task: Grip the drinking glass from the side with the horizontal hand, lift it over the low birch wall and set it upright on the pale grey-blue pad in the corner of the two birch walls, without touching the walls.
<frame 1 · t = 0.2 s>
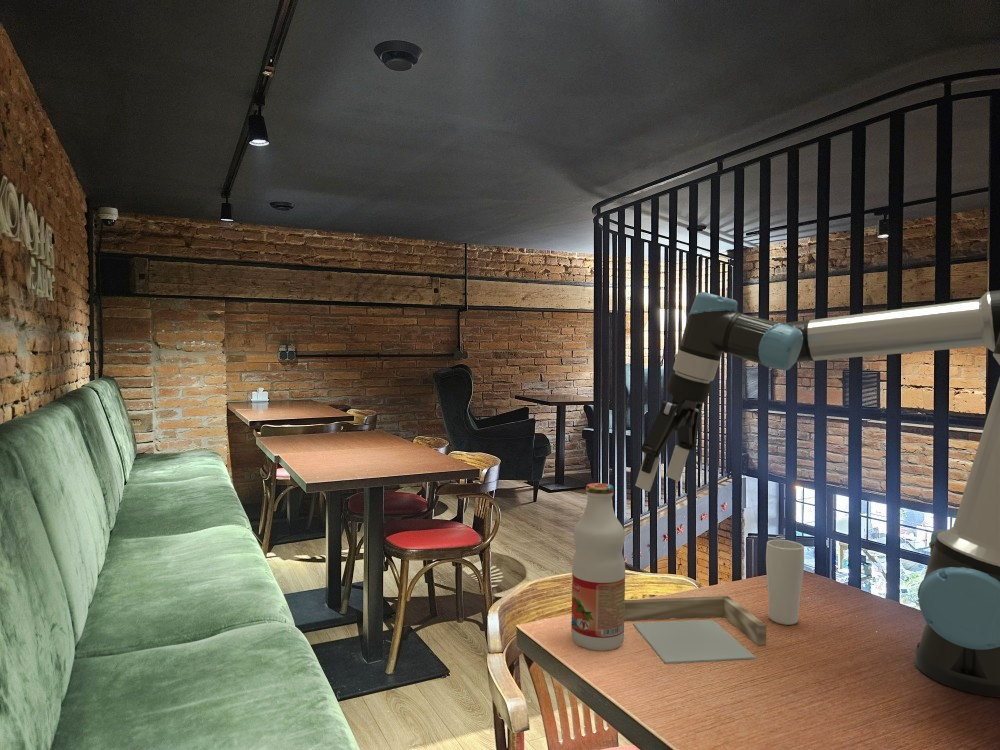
hand: (658, 483, 124), 27 cm above the table, tool tilted 15°, fingers open, 13 cm apart
drinking glass: (783, 621, 128), on the table
birch walls: (690, 640, 118), on the table
fruit juice: (597, 641, 118), on the table
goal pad: (690, 640, 118), on the table
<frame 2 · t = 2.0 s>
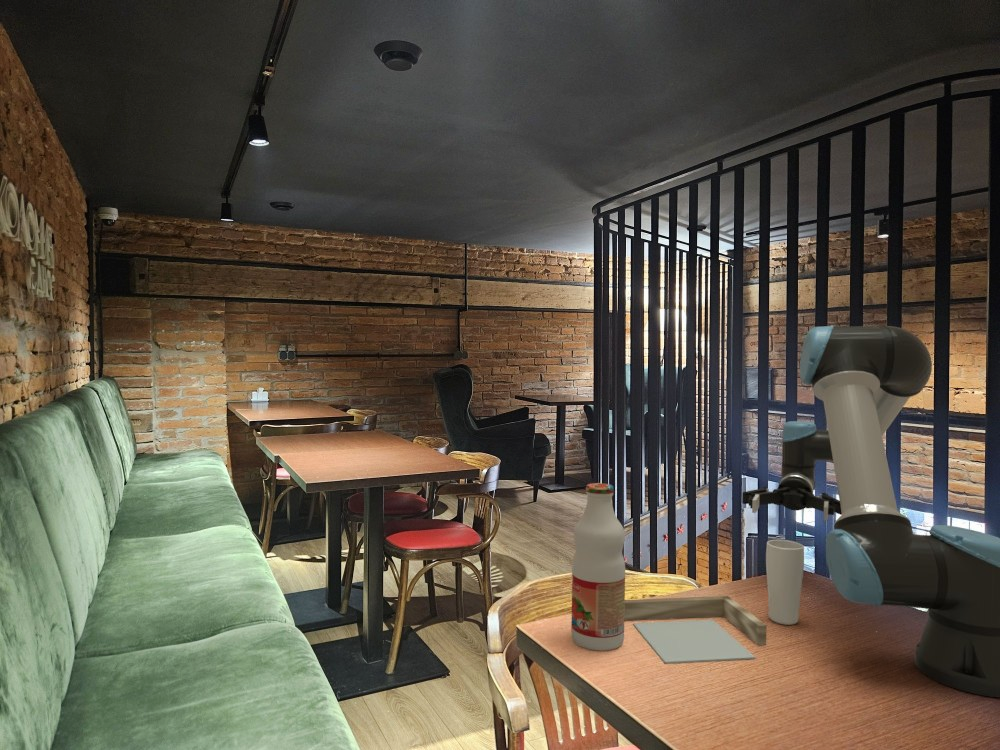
hand: (789, 510, 136), 20 cm above the table, tool horizontal, fingers open, 13 cm apart
nothing on the table moved.
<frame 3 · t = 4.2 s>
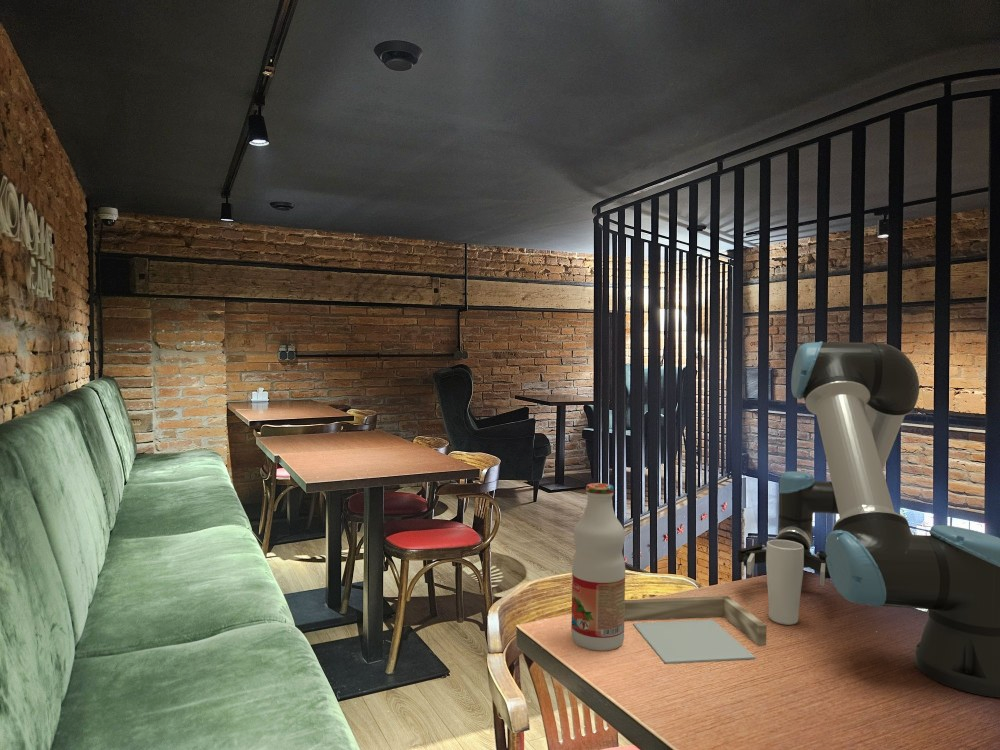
hand: (784, 573, 132), 8 cm above the table, tool horizontal, fingers open, 13 cm apart
nothing on the table moved.
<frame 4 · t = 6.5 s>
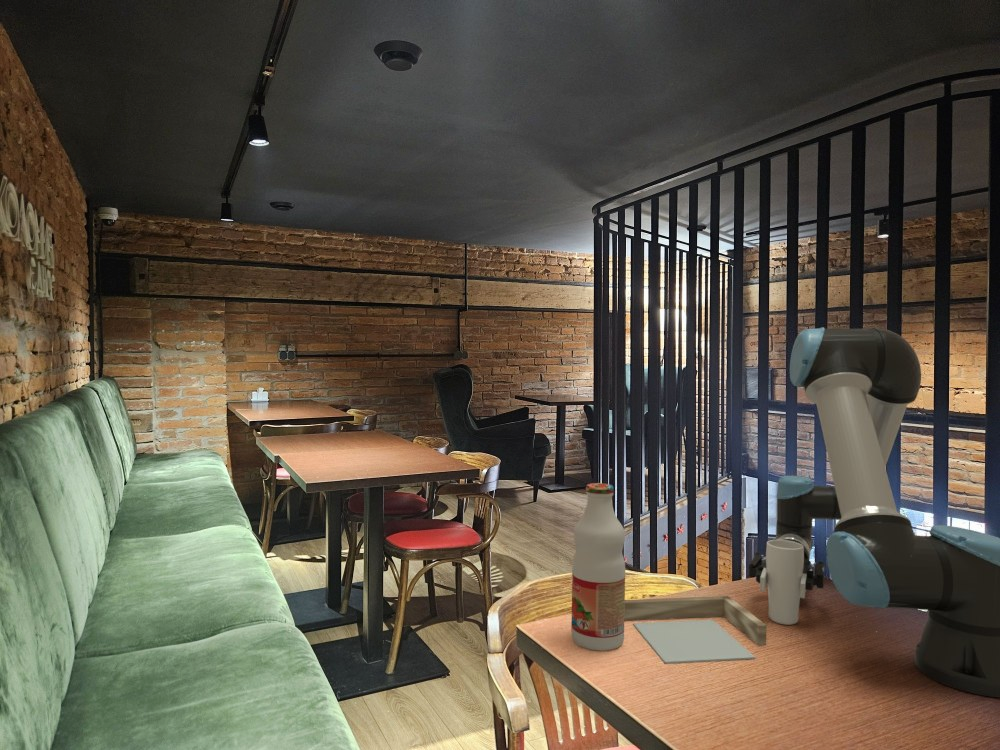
hand: (782, 587, 123), 8 cm above the table, tool horizontal, fingers closed on drinking glass, 6 cm apart
drinking glass: (783, 621, 128), on the table, touching gripper
everything else where it was.
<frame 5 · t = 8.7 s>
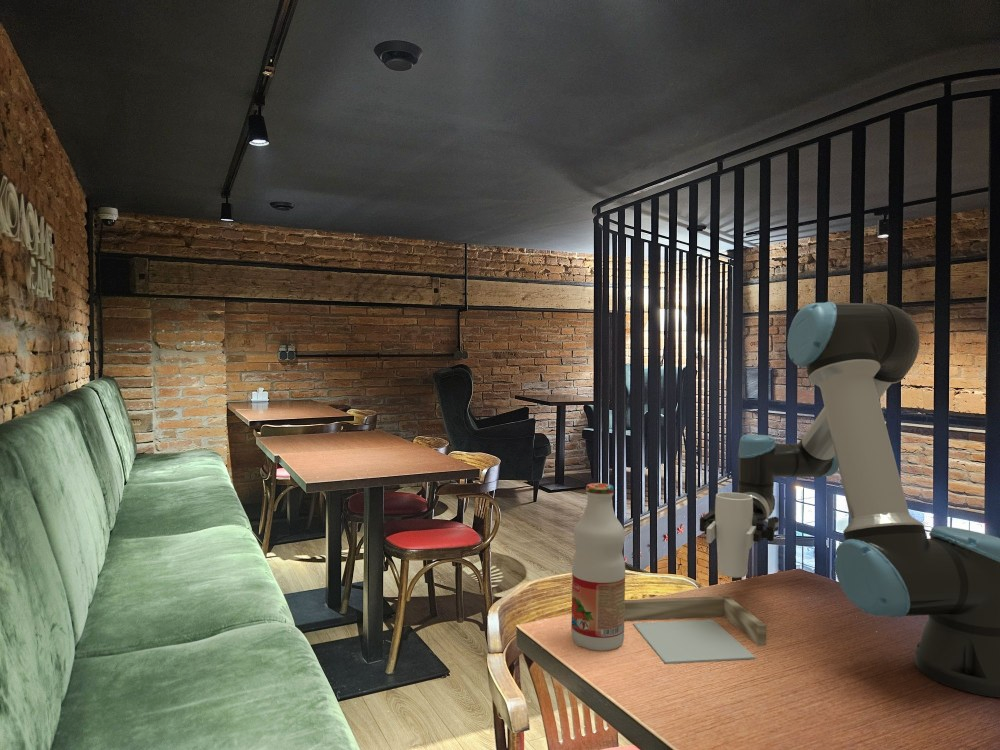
hand: (728, 538, 120), 18 cm above the table, tool horizontal, fingers closed on drinking glass, 6 cm apart
drinking glass: (732, 575, 125), point 10 cm above the table, touching gripper
everything else where it was.
when the fingers open (10 cm above the table, at t = 11.3 s): drinking glass drops 2 cm, resting on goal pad.
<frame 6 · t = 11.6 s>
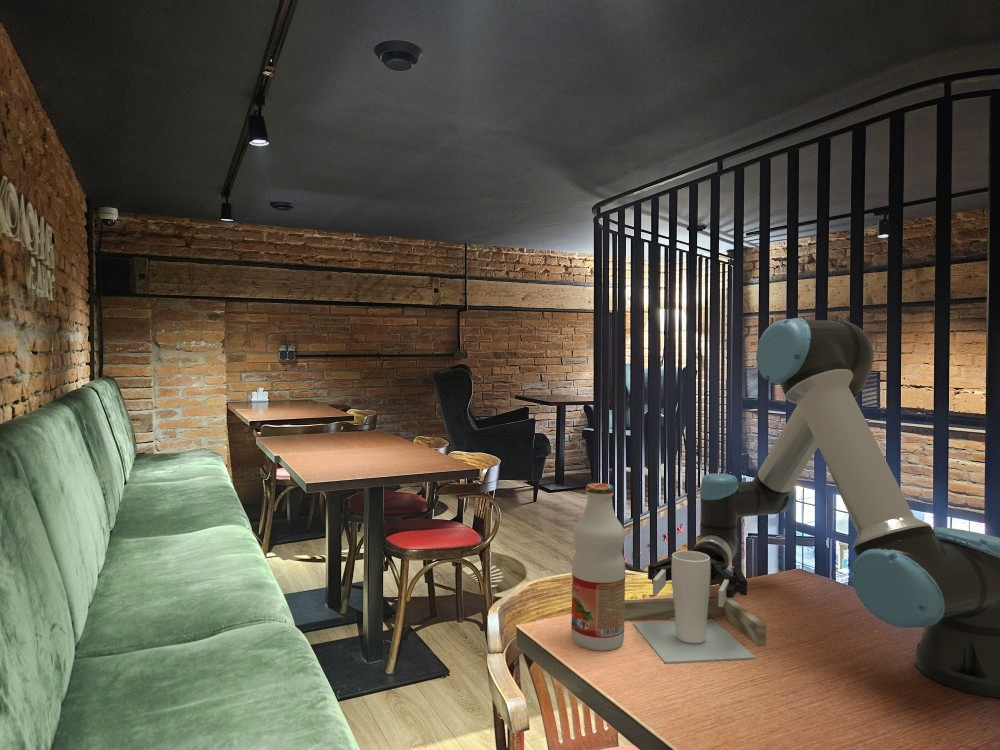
hand: (687, 593, 114), 10 cm above the table, tool horizontal, fingers open, 10 cm apart
drinking glass: (690, 639, 118), resting on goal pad
everything else where it was.
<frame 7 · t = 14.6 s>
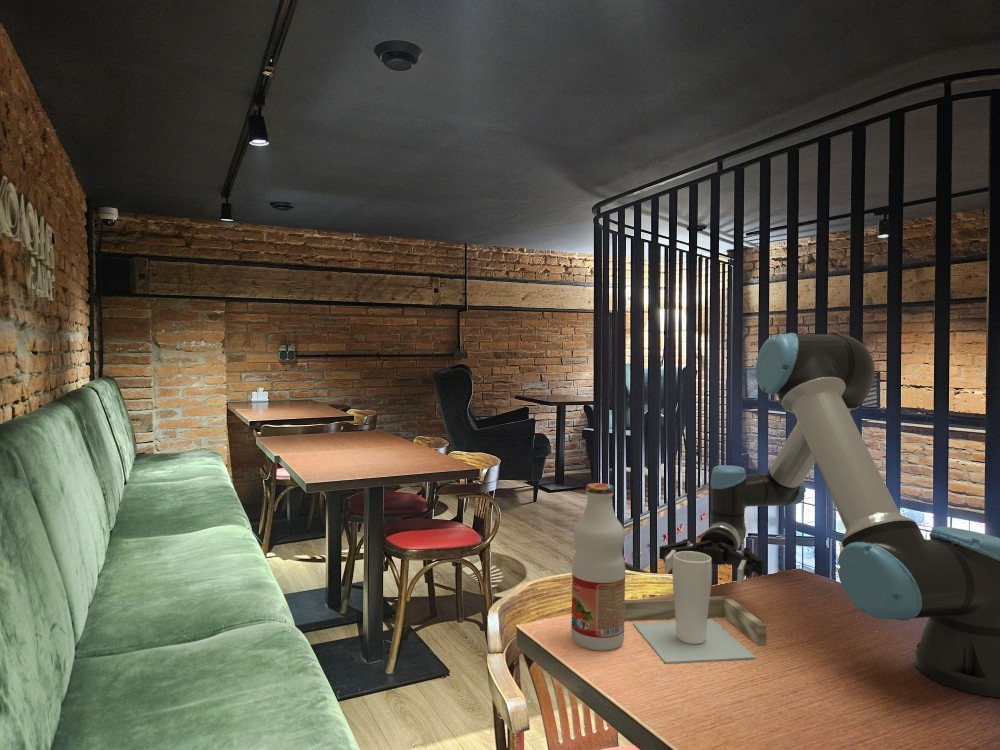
hand: (702, 570, 126), 10 cm above the table, tool horizontal, fingers open, 13 cm apart
nothing on the table moved.
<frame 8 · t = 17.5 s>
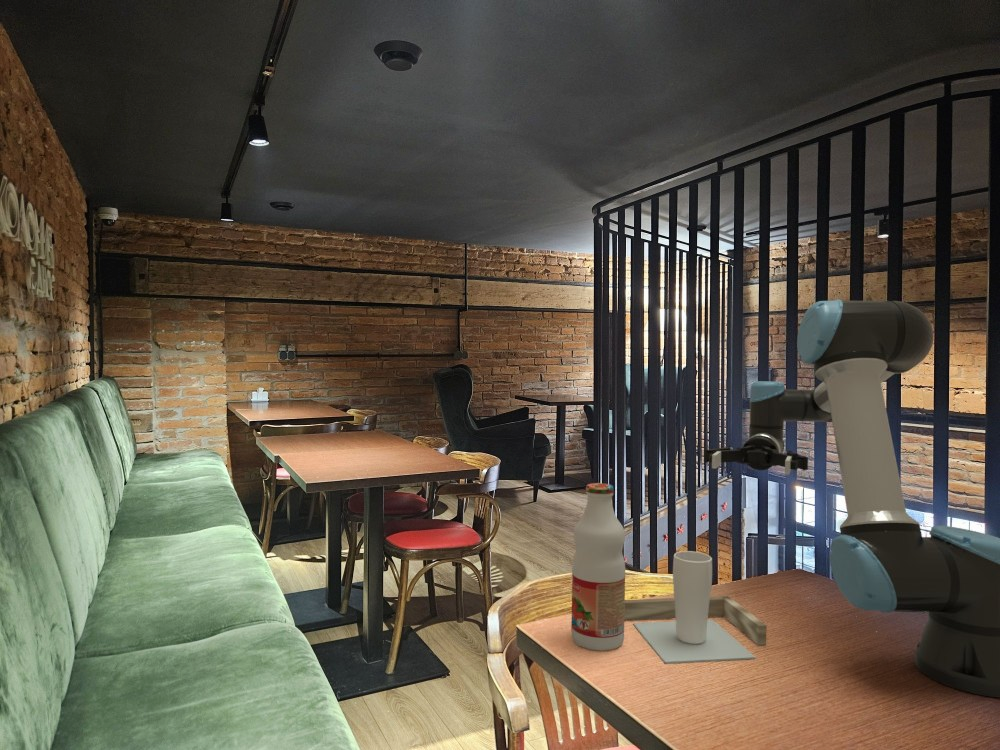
hand: (749, 464, 129), 30 cm above the table, tool horizontal, fingers open, 13 cm apart
nothing on the table moved.
at the end: drinking glass inside the target area on the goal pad (0.1 cm from its centre), point 0.1 cm above the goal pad's base; drinking glass tilted 0°; drinking glass touching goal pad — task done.
